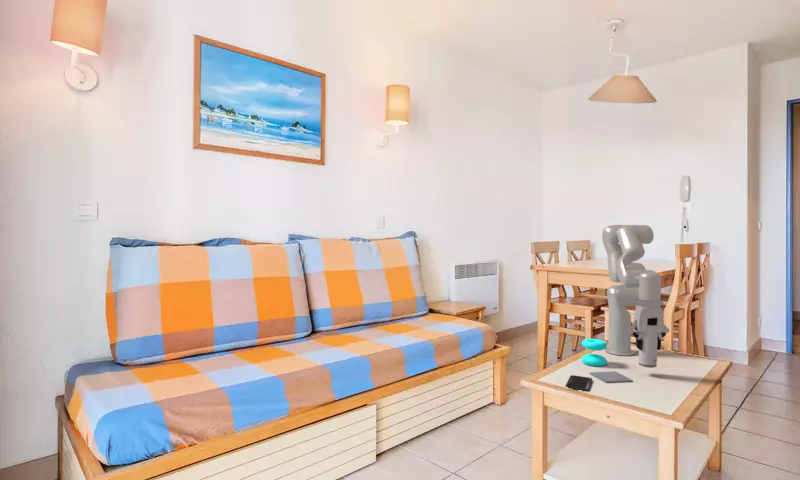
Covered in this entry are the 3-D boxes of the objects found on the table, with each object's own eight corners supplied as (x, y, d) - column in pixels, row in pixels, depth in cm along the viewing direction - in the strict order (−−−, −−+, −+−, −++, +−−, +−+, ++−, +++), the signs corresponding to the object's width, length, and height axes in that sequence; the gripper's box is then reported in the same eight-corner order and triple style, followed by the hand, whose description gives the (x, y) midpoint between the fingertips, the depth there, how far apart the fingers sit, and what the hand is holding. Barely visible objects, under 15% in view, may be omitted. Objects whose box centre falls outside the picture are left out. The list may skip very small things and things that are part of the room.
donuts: (588, 336, 203) (611, 340, 196) (588, 359, 203) (611, 364, 196) (577, 340, 196) (600, 344, 189) (577, 363, 196) (600, 368, 189)
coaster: (589, 373, 182) (589, 372, 182) (615, 372, 183) (615, 371, 183) (605, 382, 171) (605, 381, 171) (632, 381, 173) (632, 380, 173)
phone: (592, 378, 174) (588, 389, 161) (592, 381, 174) (588, 393, 161) (570, 374, 178) (564, 386, 165) (570, 377, 178) (564, 389, 165)
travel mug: (659, 368, 177) (661, 317, 176) (641, 367, 178) (643, 316, 177) (654, 363, 183) (656, 314, 182) (636, 362, 184) (638, 313, 183)
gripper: (666, 302, 183) (665, 346, 184) (622, 302, 183) (621, 346, 184) (677, 305, 175) (675, 352, 176) (631, 305, 176) (630, 351, 177)
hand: (648, 348), depth 180 cm, fingers closed on travel mug, 6 cm apart
